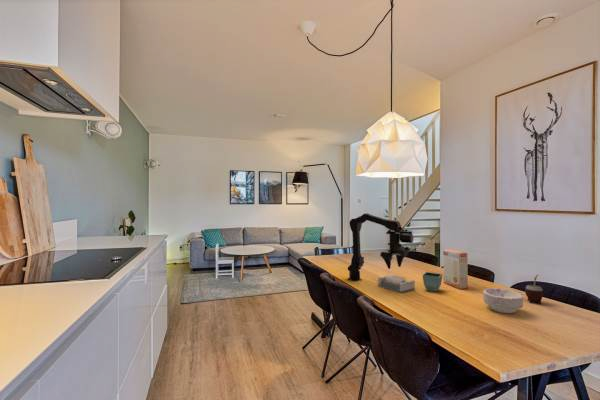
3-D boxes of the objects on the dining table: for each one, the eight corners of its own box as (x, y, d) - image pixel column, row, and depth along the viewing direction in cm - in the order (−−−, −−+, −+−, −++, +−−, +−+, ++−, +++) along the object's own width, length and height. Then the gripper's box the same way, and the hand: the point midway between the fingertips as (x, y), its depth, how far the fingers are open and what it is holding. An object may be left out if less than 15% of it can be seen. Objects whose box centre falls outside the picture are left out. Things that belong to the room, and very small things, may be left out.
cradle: (378, 286, 177) (378, 277, 177) (391, 282, 183) (391, 274, 183) (401, 293, 163) (401, 284, 163) (414, 289, 170) (414, 280, 170)
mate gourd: (531, 299, 152) (531, 270, 152) (548, 304, 144) (548, 273, 144) (521, 300, 150) (521, 271, 150) (538, 306, 142) (537, 274, 142)
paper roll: (385, 284, 176) (385, 274, 176) (392, 283, 179) (392, 273, 179) (400, 288, 167) (400, 278, 167) (406, 287, 171) (406, 276, 171)
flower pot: (439, 293, 162) (439, 277, 162) (422, 290, 167) (422, 274, 167) (442, 289, 169) (442, 273, 169) (426, 287, 174) (426, 271, 174)
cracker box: (468, 288, 170) (468, 252, 170) (459, 289, 169) (458, 253, 169) (451, 282, 184) (451, 248, 184) (443, 282, 183) (442, 249, 183)
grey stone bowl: (505, 317, 128) (505, 299, 128) (475, 305, 143) (475, 289, 143) (531, 314, 132) (531, 296, 132) (500, 302, 147) (500, 286, 147)
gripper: (395, 244, 164) (395, 272, 164) (415, 242, 175) (415, 268, 175) (379, 242, 174) (379, 268, 174) (400, 240, 184) (400, 265, 184)
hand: (394, 267), depth 176 cm, fingers open, 9 cm apart
